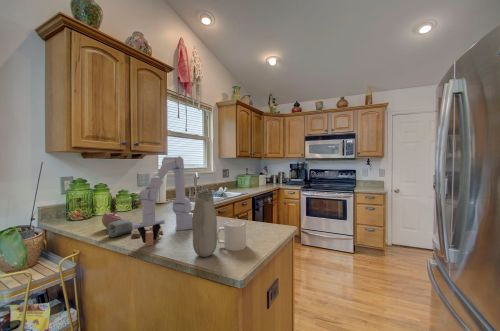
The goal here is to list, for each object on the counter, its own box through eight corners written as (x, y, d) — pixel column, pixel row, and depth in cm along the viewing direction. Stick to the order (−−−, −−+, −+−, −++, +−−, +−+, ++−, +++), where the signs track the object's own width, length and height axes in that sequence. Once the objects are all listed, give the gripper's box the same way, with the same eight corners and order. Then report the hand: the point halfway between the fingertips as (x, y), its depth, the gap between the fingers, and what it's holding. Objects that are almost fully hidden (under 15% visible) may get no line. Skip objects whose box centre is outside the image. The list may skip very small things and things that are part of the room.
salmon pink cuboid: (153, 242, 117) (153, 230, 117) (153, 244, 114) (153, 232, 114) (145, 243, 116) (145, 231, 116) (145, 245, 113) (145, 233, 113)
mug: (216, 251, 104) (216, 227, 104) (217, 243, 115) (217, 221, 114) (247, 250, 106) (246, 226, 106) (245, 242, 116) (245, 220, 116)
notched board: (162, 231, 137) (161, 227, 136) (162, 234, 130) (162, 230, 130) (133, 234, 131) (133, 230, 131) (132, 238, 124) (132, 234, 124)
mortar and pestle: (126, 229, 141) (125, 210, 141) (102, 233, 134) (102, 213, 134) (123, 225, 151) (123, 207, 151) (101, 228, 144) (101, 209, 144)
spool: (111, 234, 121) (111, 215, 125) (102, 240, 125) (103, 221, 130) (137, 234, 131) (136, 216, 136) (128, 239, 136) (128, 222, 140)
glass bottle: (217, 259, 96) (216, 190, 96) (192, 261, 95) (190, 191, 94) (217, 250, 106) (216, 187, 106) (193, 251, 104) (192, 188, 104)
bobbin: (161, 235, 128) (161, 224, 127) (162, 239, 122) (161, 227, 122) (149, 237, 125) (149, 226, 125) (149, 240, 120) (149, 229, 120)
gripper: (160, 209, 123) (161, 235, 123) (130, 214, 113) (130, 242, 113) (166, 212, 117) (166, 239, 118) (134, 217, 108) (135, 246, 108)
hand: (149, 241), depth 115 cm, fingers closed on salmon pink cuboid, 4 cm apart
